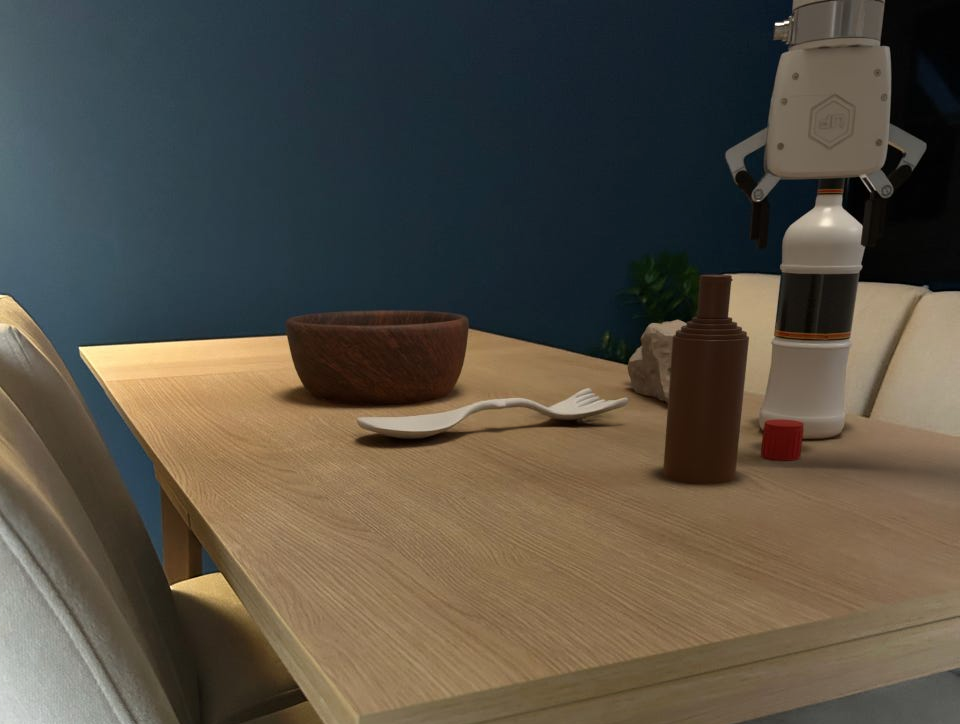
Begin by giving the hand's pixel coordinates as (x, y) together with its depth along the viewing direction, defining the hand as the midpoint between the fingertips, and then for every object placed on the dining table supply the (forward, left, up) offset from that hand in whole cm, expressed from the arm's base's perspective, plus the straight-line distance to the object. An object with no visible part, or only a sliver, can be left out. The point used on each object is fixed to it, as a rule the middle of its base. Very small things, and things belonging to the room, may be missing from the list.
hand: (813, 247), depth 90 cm
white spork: (+32, -11, -20) cm, 39 cm away
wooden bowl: (+51, -35, -20) cm, 65 cm away
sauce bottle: (+10, +12, -20) cm, 25 cm away
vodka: (-3, -14, -20) cm, 24 cm away
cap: (+1, -1, -20) cm, 20 cm away
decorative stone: (+11, -36, -20) cm, 42 cm away
